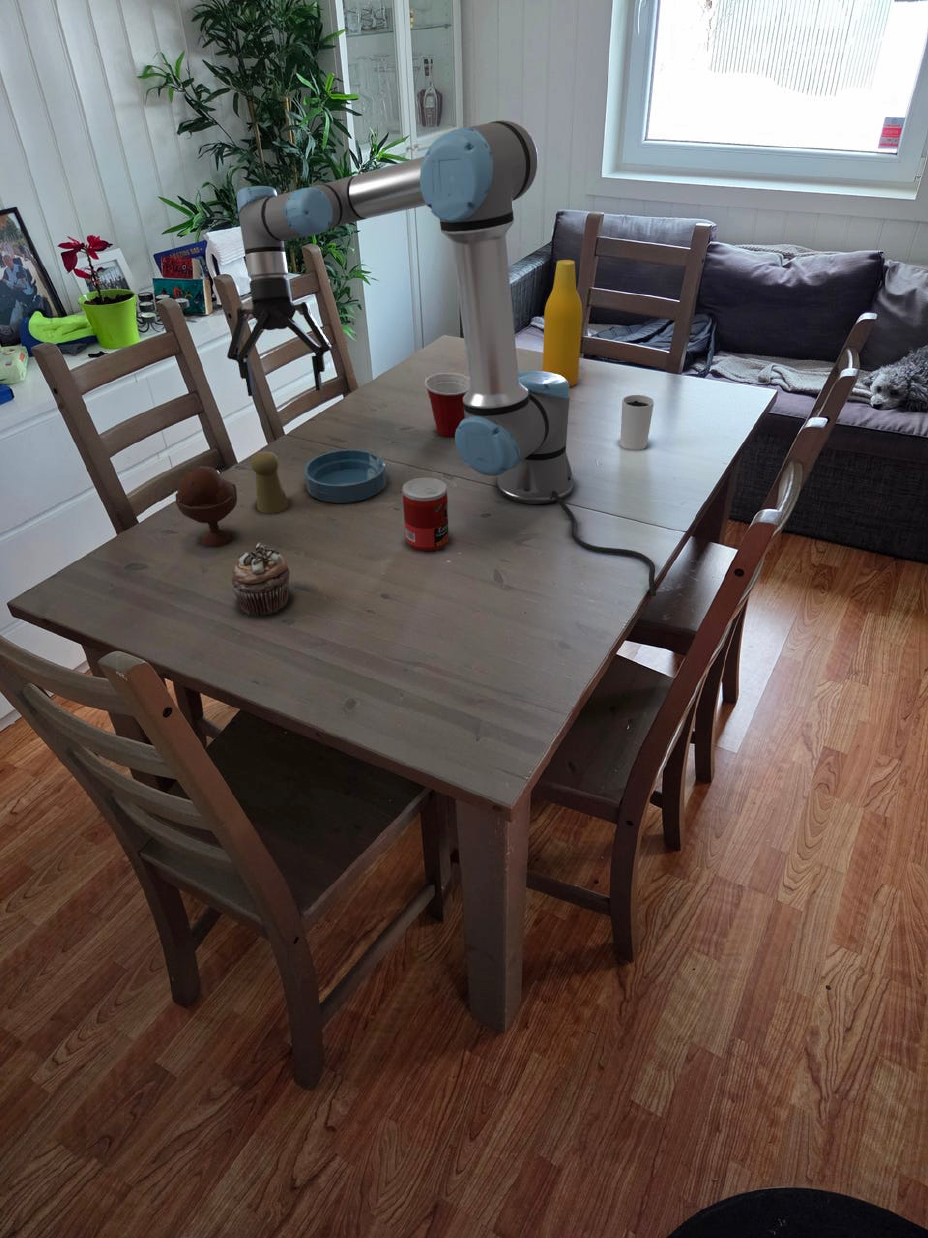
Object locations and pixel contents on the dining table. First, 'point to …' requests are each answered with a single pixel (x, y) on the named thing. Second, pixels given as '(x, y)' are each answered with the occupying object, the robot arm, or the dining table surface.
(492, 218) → the robot arm
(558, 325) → the beer bottle
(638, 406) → the white coffee cup
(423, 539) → the canned food
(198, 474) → the ice cream bowl
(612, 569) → the dining table surface
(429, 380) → the plastic cup
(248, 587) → the cupcake
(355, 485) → the bowl
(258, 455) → the olive game pawn
